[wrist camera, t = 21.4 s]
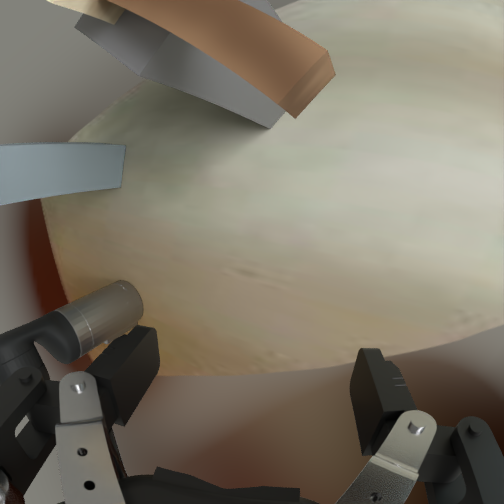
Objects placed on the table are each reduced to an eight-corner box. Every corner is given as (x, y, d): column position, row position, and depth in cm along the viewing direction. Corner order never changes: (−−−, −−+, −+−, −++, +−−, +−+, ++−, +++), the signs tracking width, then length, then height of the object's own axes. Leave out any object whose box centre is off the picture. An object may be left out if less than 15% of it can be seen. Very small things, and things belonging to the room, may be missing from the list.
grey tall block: (315, 78, 36) (237, -40, 11) (270, 129, 40) (138, 76, 15) (254, 38, 37) (142, -59, 12) (214, 85, 41) (74, 27, 16)
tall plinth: (129, 197, 52) (-34, 229, 23) (90, 187, 55) (-49, 211, 26) (136, 138, 48) (-33, 137, 19) (96, 135, 52) (-47, 138, 23)
